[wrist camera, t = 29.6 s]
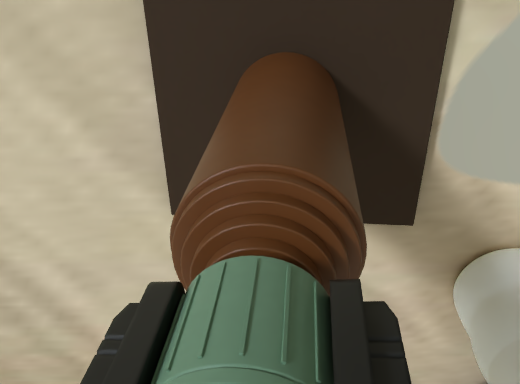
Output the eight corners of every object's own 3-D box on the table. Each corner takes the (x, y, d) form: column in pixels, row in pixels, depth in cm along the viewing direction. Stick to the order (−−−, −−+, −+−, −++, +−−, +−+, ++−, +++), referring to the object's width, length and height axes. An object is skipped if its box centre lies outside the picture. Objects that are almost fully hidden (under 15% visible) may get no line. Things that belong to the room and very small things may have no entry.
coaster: (140, -54, 23) (135, -54, 23) (460, -59, 22) (465, -59, 21) (174, 208, 31) (171, 215, 31) (411, 219, 30) (413, 226, 29)
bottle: (231, 51, 25) (64, 298, 8) (342, 51, 24) (424, 318, 7) (236, 151, 28) (122, 490, 11) (335, 154, 27) (381, 514, 10)
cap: (344, 363, 12) (357, 509, 9) (205, 372, 13) (171, 511, 10) (324, 244, 10) (332, 375, 7) (162, 262, 11) (105, 389, 8)
